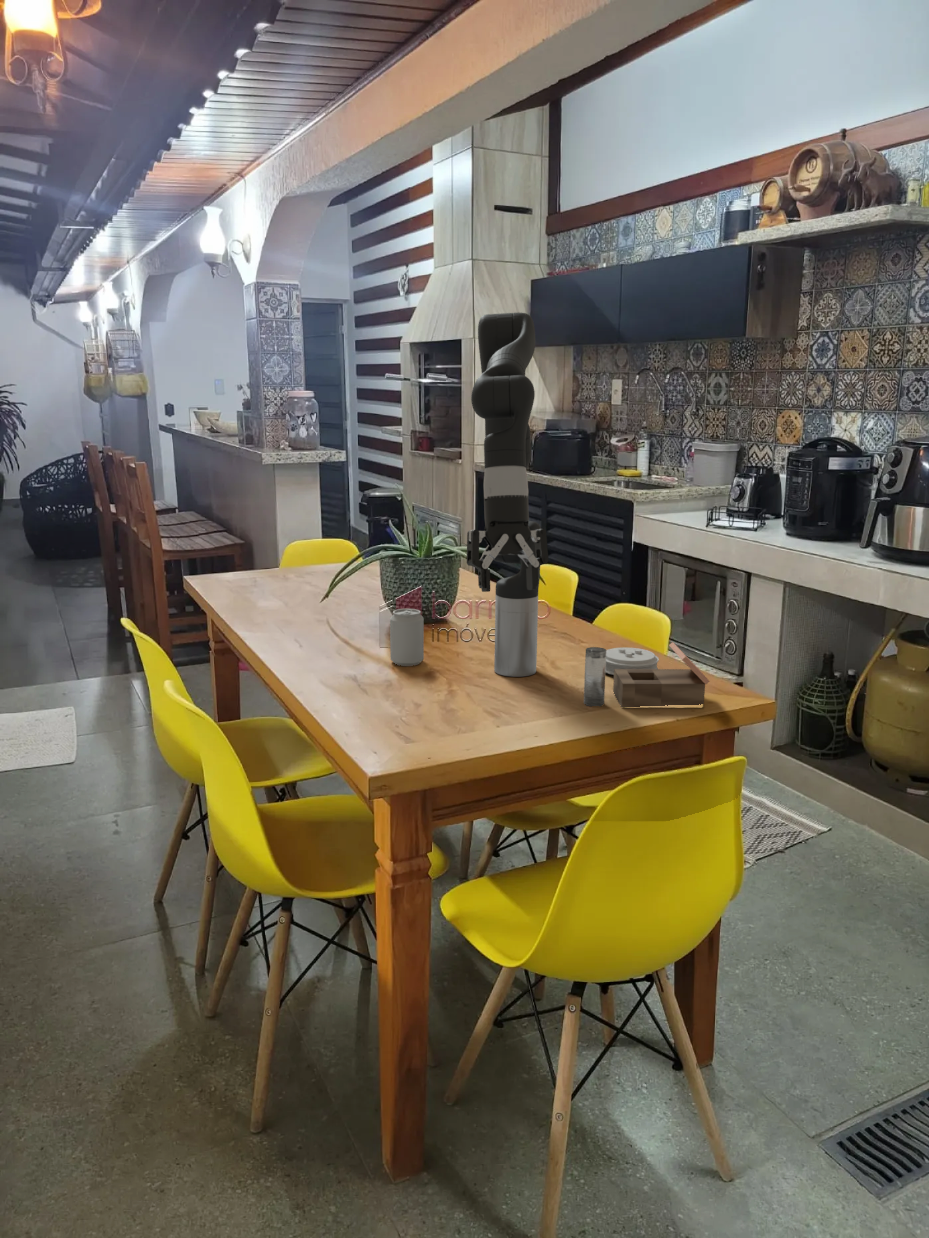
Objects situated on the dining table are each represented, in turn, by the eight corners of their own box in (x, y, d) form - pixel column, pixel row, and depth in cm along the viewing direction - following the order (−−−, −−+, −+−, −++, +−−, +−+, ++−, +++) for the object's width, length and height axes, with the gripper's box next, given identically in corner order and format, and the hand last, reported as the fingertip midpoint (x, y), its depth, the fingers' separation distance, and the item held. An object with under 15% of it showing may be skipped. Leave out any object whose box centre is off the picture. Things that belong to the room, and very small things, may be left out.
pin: (582, 700, 192) (584, 647, 189) (602, 700, 192) (604, 647, 189) (585, 706, 188) (587, 652, 185) (605, 706, 188) (607, 652, 185)
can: (385, 665, 215) (384, 612, 212) (398, 656, 222) (398, 606, 219) (415, 668, 213) (415, 615, 210) (428, 660, 219) (428, 608, 217)
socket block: (613, 692, 197) (614, 669, 196) (690, 692, 197) (692, 669, 196) (621, 708, 187) (622, 683, 186) (703, 708, 187) (705, 683, 186)
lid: (669, 673, 212) (670, 651, 210) (635, 685, 203) (636, 662, 202) (621, 661, 220) (622, 640, 219) (587, 672, 211) (588, 650, 210)
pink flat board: (668, 645, 195) (672, 641, 195) (691, 668, 196) (695, 665, 196) (681, 659, 184) (685, 656, 184) (705, 684, 186) (709, 681, 186)
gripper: (533, 497, 169) (536, 589, 170) (458, 497, 164) (461, 592, 164) (553, 493, 162) (556, 589, 163) (476, 492, 157) (479, 592, 157)
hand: (508, 590), depth 163 cm, fingers open, 8 cm apart
